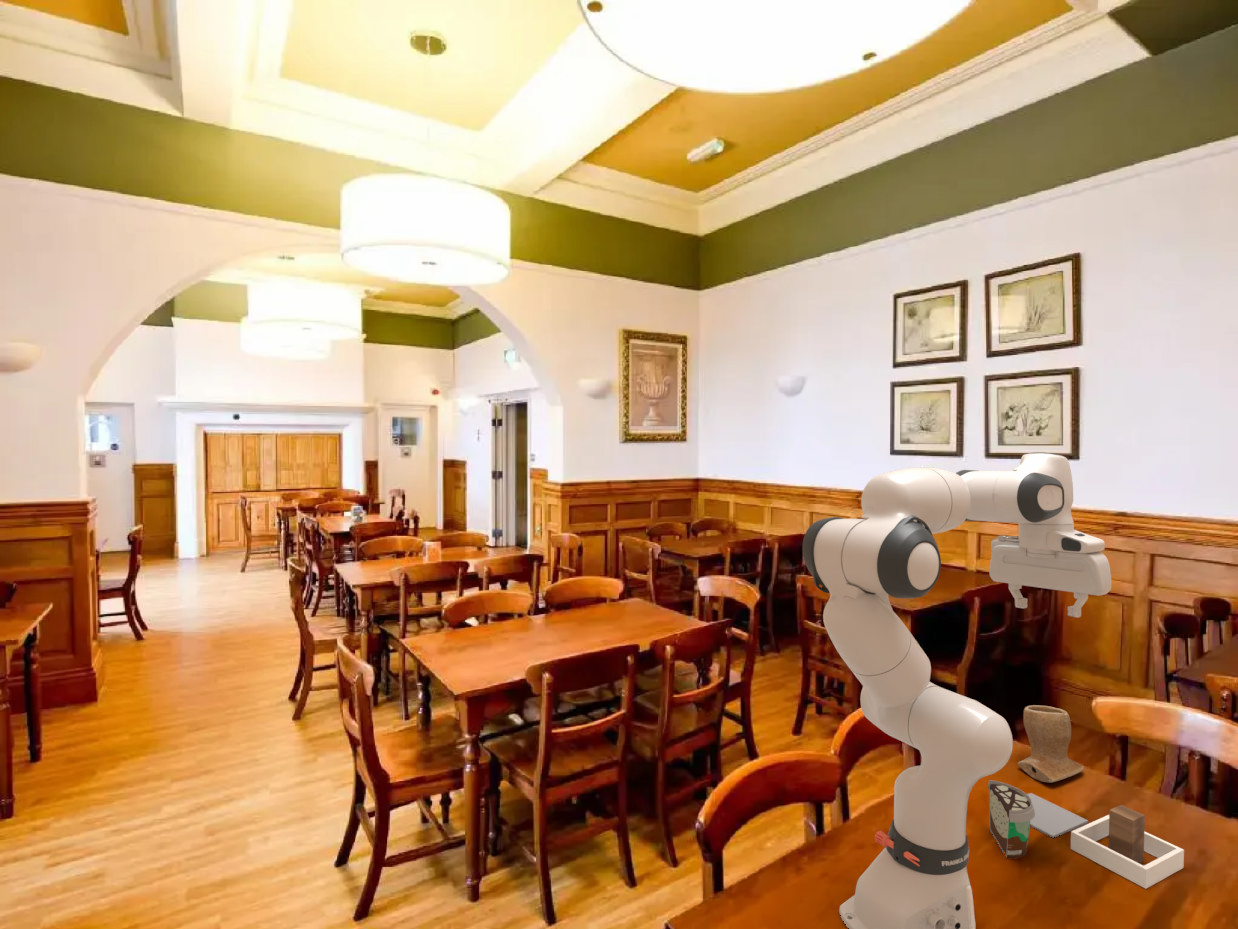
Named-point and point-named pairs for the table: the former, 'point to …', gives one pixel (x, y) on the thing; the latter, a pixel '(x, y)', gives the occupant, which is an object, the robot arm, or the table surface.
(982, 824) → the table surface
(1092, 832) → the tray
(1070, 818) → the rubber mat
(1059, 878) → the table surface
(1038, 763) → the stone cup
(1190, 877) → the table surface
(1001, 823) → the food container
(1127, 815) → the walnut block
